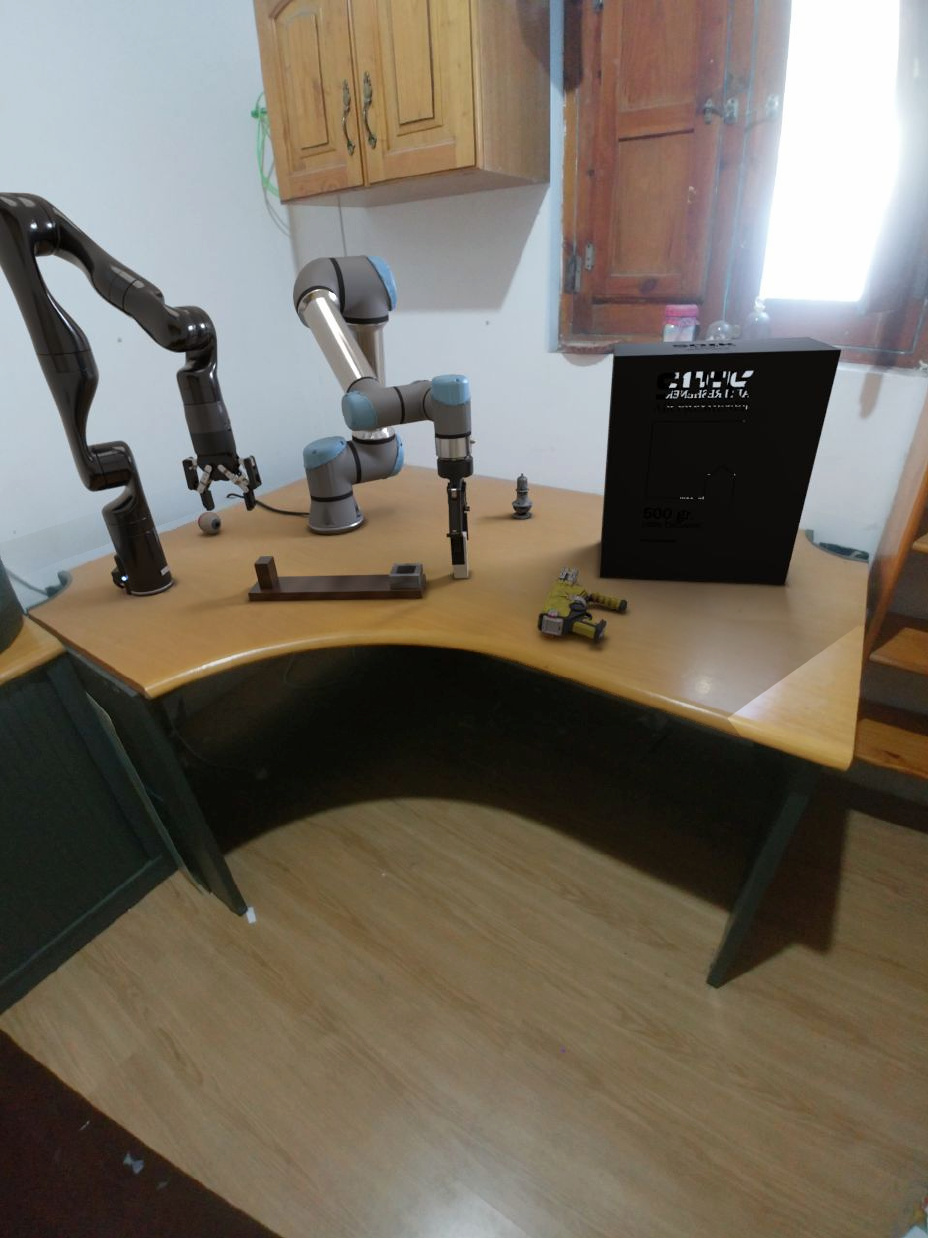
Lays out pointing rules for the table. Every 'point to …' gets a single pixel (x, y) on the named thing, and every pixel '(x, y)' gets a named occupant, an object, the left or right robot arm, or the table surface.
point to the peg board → (337, 584)
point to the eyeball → (209, 522)
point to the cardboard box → (711, 457)
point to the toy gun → (574, 609)
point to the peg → (462, 570)
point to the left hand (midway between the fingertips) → (231, 509)
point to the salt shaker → (522, 499)
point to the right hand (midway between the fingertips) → (460, 551)
